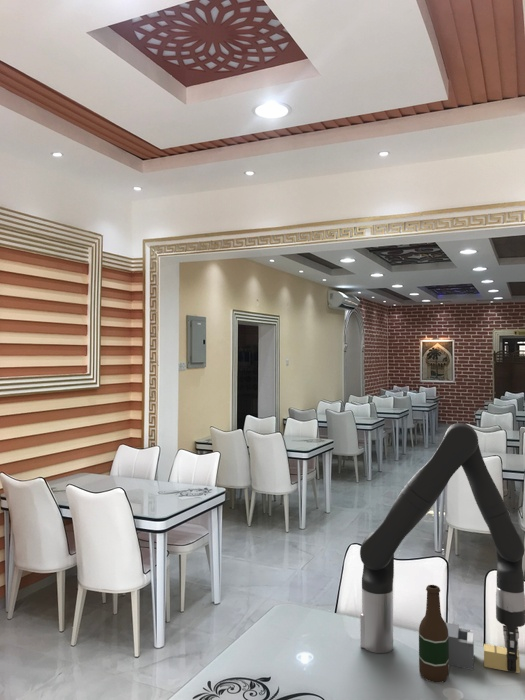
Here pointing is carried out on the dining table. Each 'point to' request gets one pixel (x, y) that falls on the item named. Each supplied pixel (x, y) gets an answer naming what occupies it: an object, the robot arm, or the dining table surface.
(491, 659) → the yellow rectangular block
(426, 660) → the beer bottle
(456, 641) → the dispenser
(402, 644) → the dining table surface
